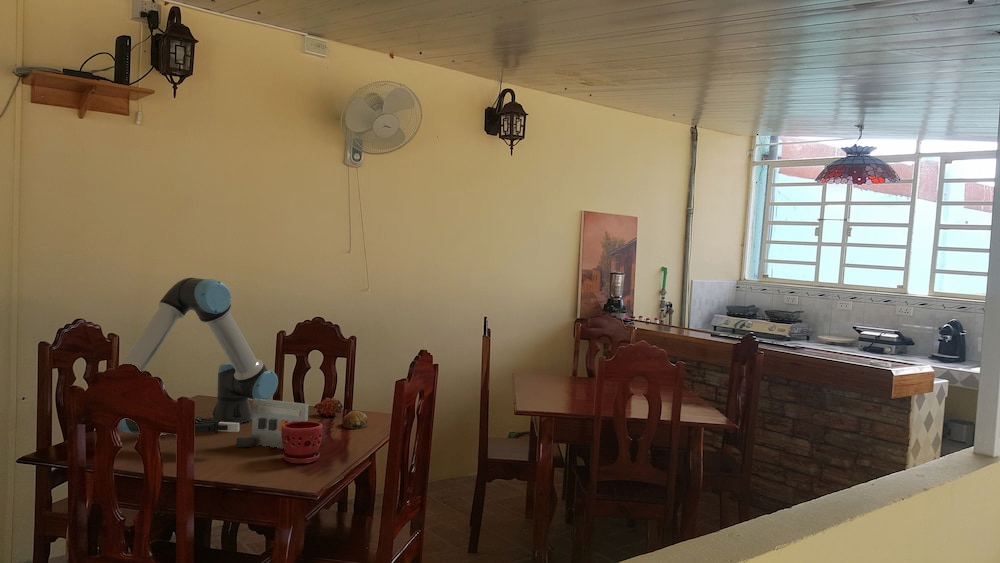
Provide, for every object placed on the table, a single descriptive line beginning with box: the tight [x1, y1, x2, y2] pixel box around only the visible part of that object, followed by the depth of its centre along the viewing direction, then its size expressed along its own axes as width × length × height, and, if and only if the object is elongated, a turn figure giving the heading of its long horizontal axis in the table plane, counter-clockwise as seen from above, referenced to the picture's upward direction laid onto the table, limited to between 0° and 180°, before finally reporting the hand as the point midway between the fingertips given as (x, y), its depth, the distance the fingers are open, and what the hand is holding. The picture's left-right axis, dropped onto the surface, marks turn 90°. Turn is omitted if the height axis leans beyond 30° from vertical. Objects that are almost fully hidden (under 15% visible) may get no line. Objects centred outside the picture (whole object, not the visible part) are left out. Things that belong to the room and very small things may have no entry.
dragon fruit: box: [313, 396, 344, 417], centre depth 303 cm, size 8×8×12 cm
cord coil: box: [235, 435, 256, 449], centre depth 250 cm, size 6×6×2 cm
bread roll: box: [342, 410, 369, 430], centre depth 288 cm, size 10×10×8 cm
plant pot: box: [281, 420, 323, 464], centre depth 237 cm, size 13×13×12 cm
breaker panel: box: [250, 398, 309, 449], centre depth 250 cm, size 20×3×16 cm, turn 78°
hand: (238, 427), depth 237 cm, fingers closed
